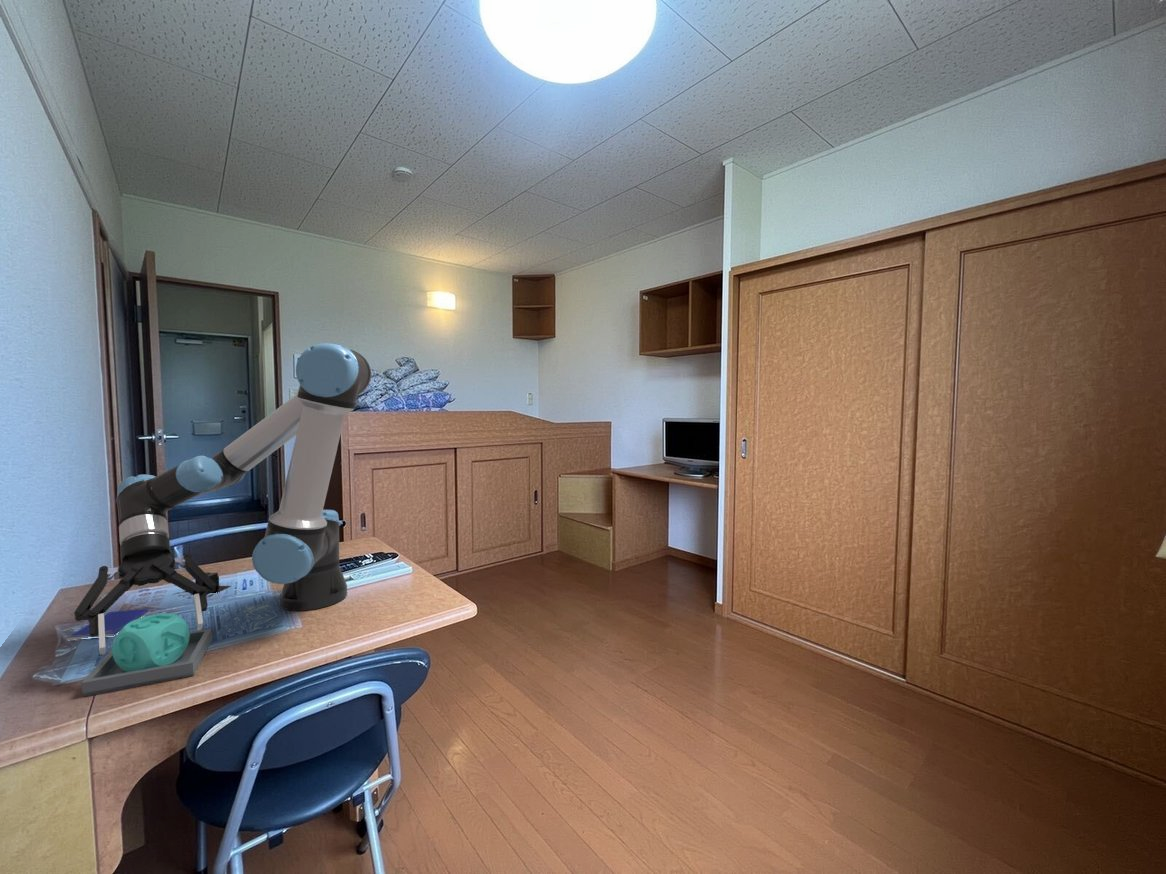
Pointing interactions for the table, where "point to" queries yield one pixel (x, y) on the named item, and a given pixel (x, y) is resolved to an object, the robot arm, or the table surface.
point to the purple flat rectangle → (112, 623)
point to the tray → (115, 678)
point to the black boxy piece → (216, 579)
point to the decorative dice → (151, 642)
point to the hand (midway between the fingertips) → (154, 638)
